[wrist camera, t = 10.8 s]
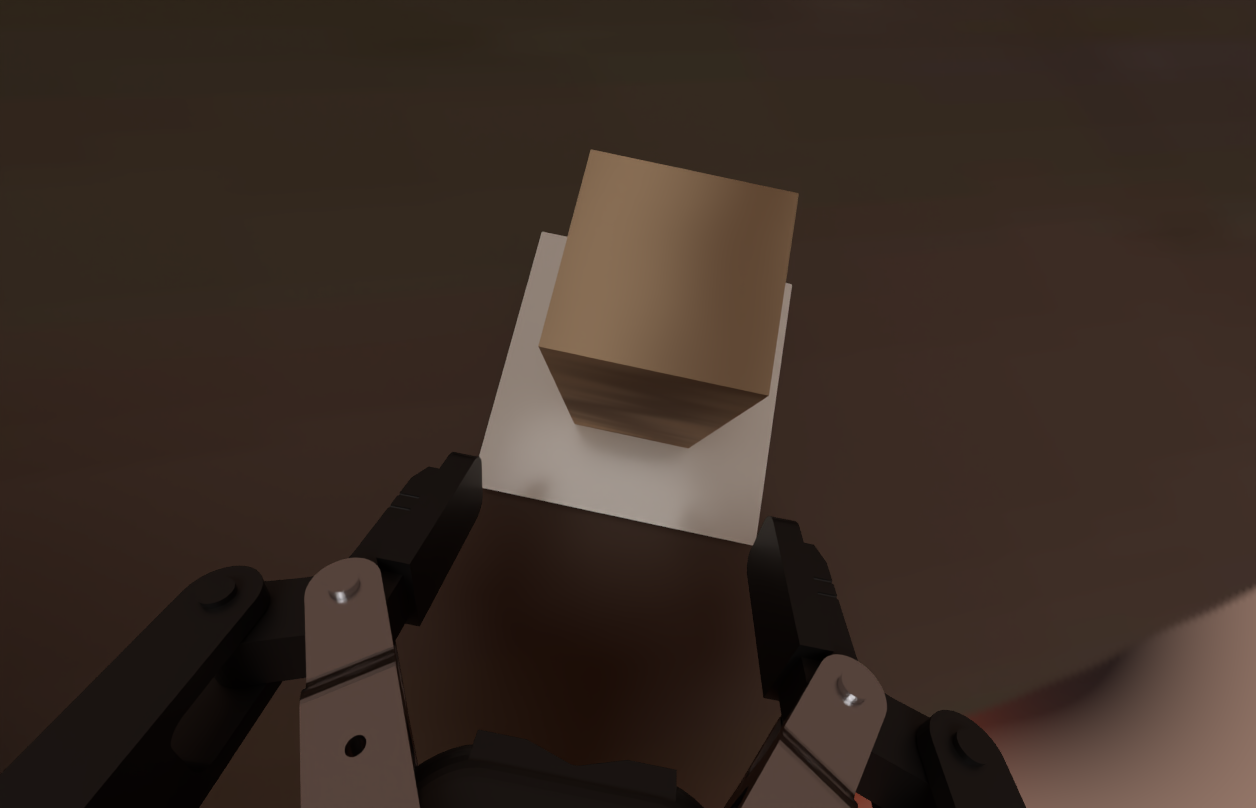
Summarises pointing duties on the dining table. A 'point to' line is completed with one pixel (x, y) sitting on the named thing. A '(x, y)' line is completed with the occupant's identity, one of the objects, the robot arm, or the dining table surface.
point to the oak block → (667, 299)
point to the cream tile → (619, 442)
